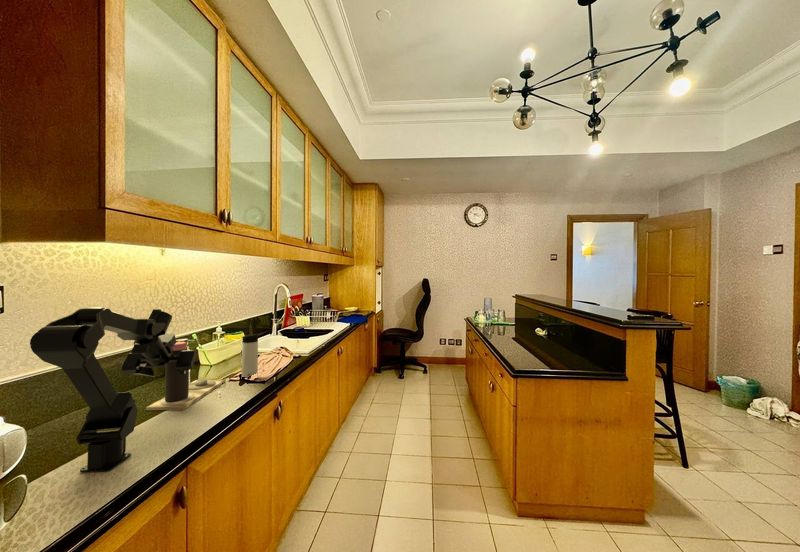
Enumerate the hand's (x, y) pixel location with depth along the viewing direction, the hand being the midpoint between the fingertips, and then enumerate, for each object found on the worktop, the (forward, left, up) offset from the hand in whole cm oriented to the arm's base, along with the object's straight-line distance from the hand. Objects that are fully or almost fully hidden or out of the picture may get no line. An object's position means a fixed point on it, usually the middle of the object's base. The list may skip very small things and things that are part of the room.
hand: (169, 374), depth 100 cm
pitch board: (+14, +1, -12) cm, 18 cm away
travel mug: (+31, -14, -12) cm, 36 cm away
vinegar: (+6, +1, -11) cm, 13 cm away
